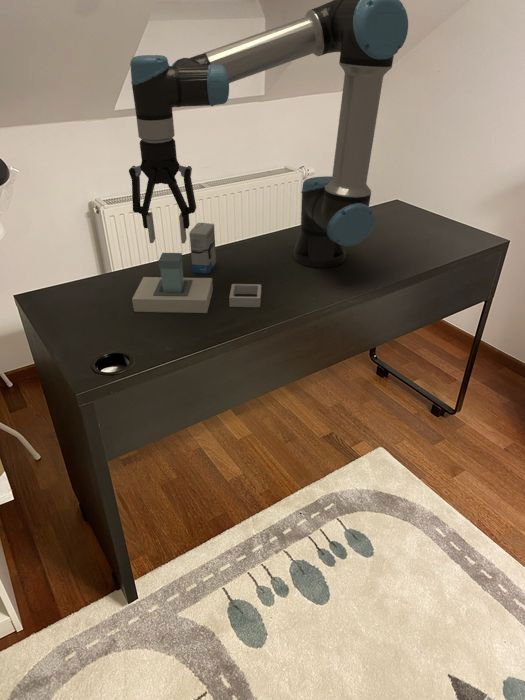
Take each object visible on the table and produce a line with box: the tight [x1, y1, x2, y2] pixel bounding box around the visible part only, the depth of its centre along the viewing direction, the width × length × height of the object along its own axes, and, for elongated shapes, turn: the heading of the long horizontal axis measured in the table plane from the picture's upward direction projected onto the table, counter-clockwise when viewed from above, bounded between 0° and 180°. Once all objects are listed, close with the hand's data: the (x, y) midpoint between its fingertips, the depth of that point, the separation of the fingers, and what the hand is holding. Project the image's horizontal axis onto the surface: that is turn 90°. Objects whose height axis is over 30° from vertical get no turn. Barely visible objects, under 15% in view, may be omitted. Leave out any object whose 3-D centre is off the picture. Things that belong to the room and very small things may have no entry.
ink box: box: [189, 222, 217, 275], centre depth 146 cm, size 8×5×12 cm, turn 168°
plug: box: [158, 252, 185, 293], centre depth 130 cm, size 5×5×12 cm
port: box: [131, 276, 214, 314], centre depth 132 cm, size 18×12×4 cm, turn 88°
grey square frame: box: [228, 283, 262, 308], centre depth 133 cm, size 8×8×2 cm
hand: (168, 240), depth 124 cm, fingers open, 7 cm apart
